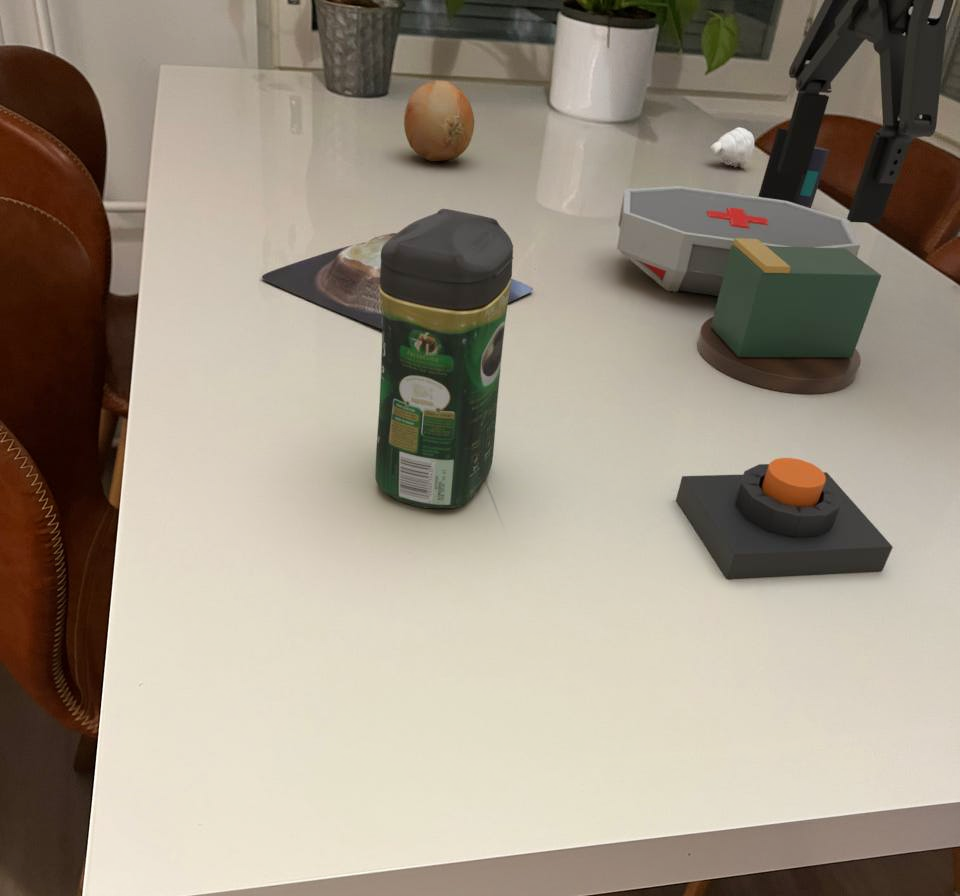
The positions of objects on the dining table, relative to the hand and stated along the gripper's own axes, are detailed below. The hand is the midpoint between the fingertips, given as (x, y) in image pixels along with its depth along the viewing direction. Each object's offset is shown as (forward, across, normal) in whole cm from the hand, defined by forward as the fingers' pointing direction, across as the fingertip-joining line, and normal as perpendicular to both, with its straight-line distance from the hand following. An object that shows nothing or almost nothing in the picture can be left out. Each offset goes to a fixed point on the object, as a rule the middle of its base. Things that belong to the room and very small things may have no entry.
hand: (825, 195), depth 87 cm
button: (+12, +30, -14) cm, 35 cm away
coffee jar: (+16, +20, -38) cm, 46 cm away
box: (+14, 0, 0) cm, 14 cm away
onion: (+16, -64, -22) cm, 70 cm away
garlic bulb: (+16, -68, +24) cm, 74 cm away
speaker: (+16, -47, +24) cm, 55 cm away
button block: (+15, +30, -14) cm, 36 cm away
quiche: (+16, -18, -35) cm, 42 cm away
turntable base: (+15, 0, 0) cm, 15 cm away
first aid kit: (+16, -19, +2) cm, 25 cm away
